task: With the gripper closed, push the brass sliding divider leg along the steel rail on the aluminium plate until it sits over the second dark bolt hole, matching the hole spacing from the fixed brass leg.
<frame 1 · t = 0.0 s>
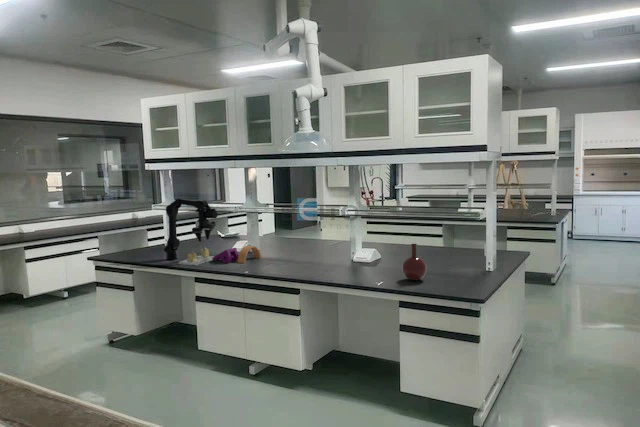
hand: (203, 240, 329), 15 cm above the table, tool pointing down, fingers open, 9 cm apart
sliding leg: (204, 251, 339), point 5 cm above the table, slide at 5.0 cm
mounting bracket: (224, 261, 328), on the table
round-bottom flask: (414, 280, 259), on the table
arch: (249, 260, 330), on the table
pitch plate: (197, 261, 331), on the table
fixed leg: (192, 262, 326), resting on pitch plate
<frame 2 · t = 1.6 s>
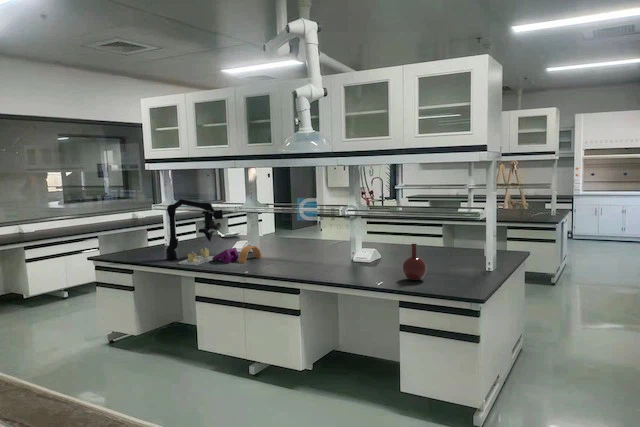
hand: (209, 240, 345), 12 cm above the table, tool pointing down, fingers closed
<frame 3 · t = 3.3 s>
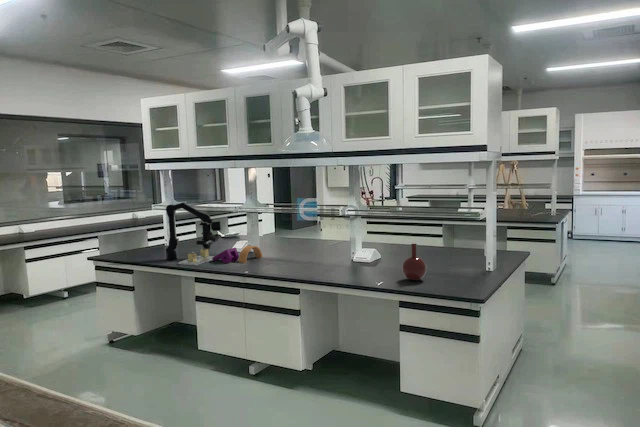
hand: (207, 252, 343), 4 cm above the table, tool pointing down, fingers closed
sliding leg: (204, 251, 339), point 5 cm above the table, slide at 4.8 cm, touching gripper
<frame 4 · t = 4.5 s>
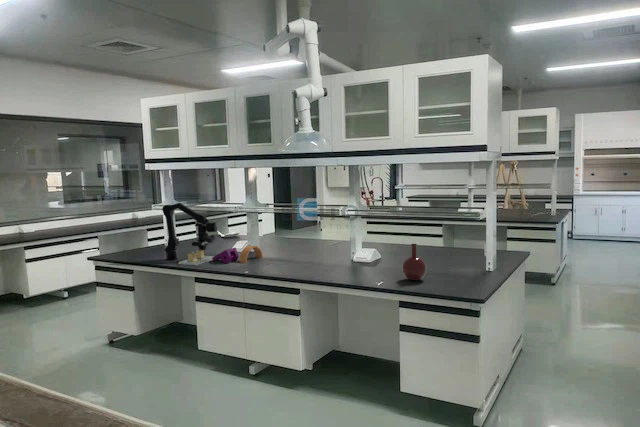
hand: (203, 253, 338), 4 cm above the table, tool pointing down, fingers closed
sliding leg: (200, 253, 334), point 5 cm above the table, slide at -0.7 cm, touching gripper
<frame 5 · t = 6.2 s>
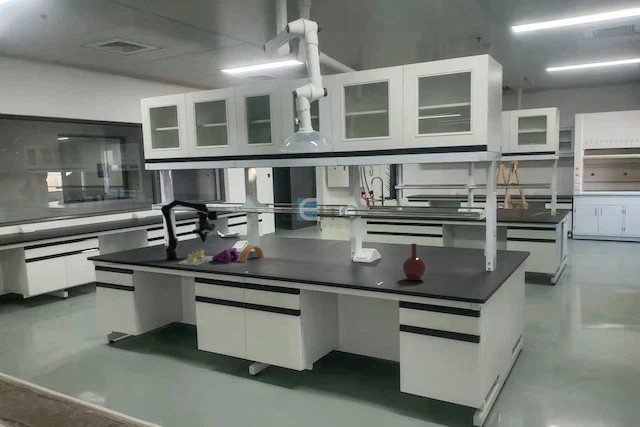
hand: (203, 242, 342), 12 cm above the table, tool pointing down, fingers closed
sliding leg: (200, 253, 334), point 5 cm above the table, slide at -0.8 cm
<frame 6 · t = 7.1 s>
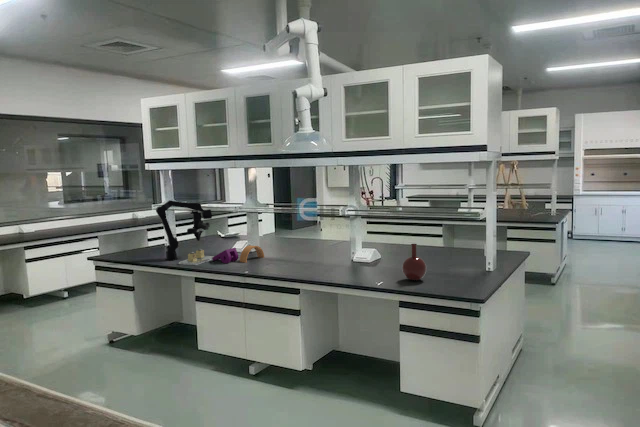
hand: (198, 240, 347), 12 cm above the table, tool pointing down, fingers closed
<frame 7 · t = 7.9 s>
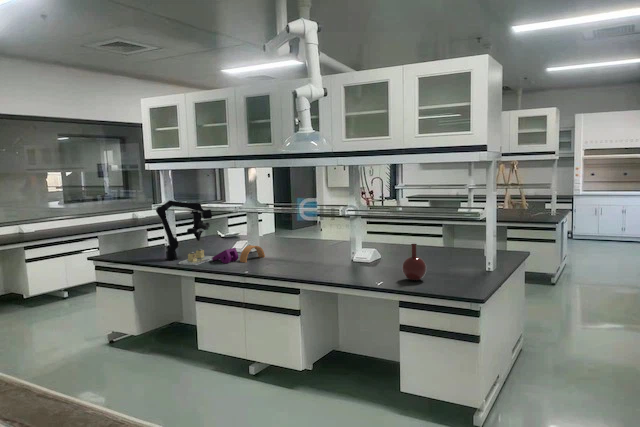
hand: (198, 240, 347), 12 cm above the table, tool pointing down, fingers closed
at the end: sliding leg slide at -0.8 cm; mounting bracket moved 0.6 cm from its start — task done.
